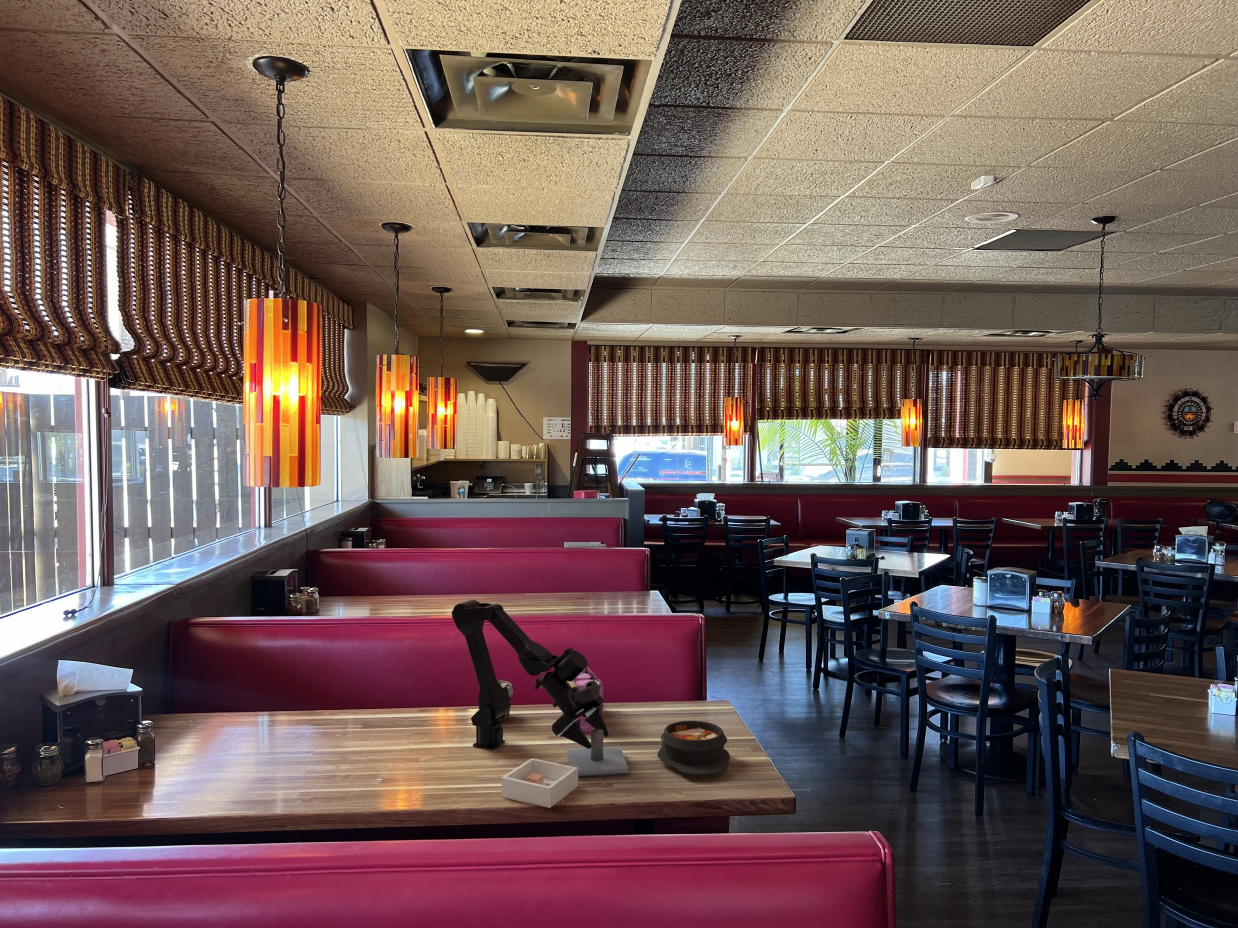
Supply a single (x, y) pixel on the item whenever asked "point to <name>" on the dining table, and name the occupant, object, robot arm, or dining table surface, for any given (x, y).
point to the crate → (540, 782)
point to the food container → (510, 691)
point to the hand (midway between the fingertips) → (599, 741)
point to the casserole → (694, 748)
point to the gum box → (581, 684)
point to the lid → (597, 758)
